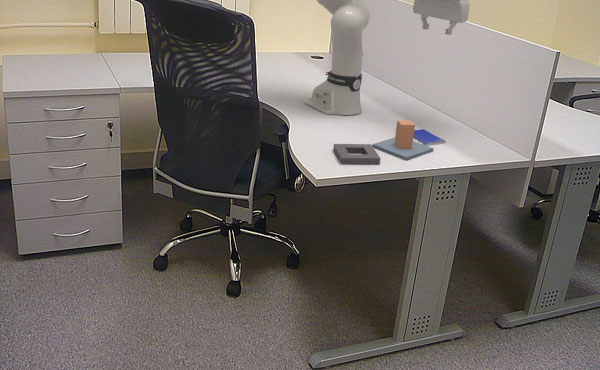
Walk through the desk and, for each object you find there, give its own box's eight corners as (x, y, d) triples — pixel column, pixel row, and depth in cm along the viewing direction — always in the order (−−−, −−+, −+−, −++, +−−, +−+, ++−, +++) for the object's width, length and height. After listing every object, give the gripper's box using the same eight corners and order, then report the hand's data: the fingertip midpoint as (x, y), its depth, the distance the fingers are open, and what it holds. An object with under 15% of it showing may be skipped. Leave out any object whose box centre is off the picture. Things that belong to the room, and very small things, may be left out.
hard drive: (446, 140, 217) (424, 128, 228) (426, 142, 214) (404, 130, 224) (445, 145, 218) (423, 133, 228) (425, 147, 215) (404, 135, 225)
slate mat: (372, 146, 210) (372, 144, 210) (399, 138, 219) (399, 135, 219) (406, 160, 201) (406, 157, 201) (433, 151, 210) (433, 148, 210)
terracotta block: (398, 148, 208) (401, 124, 204) (394, 143, 212) (397, 120, 208) (411, 148, 208) (415, 124, 205) (407, 143, 212) (410, 120, 209)
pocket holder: (340, 164, 195) (341, 158, 194) (333, 149, 206) (333, 143, 205) (379, 164, 197) (380, 158, 196) (370, 150, 208) (370, 144, 207)
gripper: (412, -16, 217) (406, 26, 223) (463, -6, 204) (456, 38, 210) (423, -16, 221) (417, 25, 227) (474, -7, 208) (467, 36, 214)
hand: (436, 31), depth 218 cm, fingers open, 8 cm apart
